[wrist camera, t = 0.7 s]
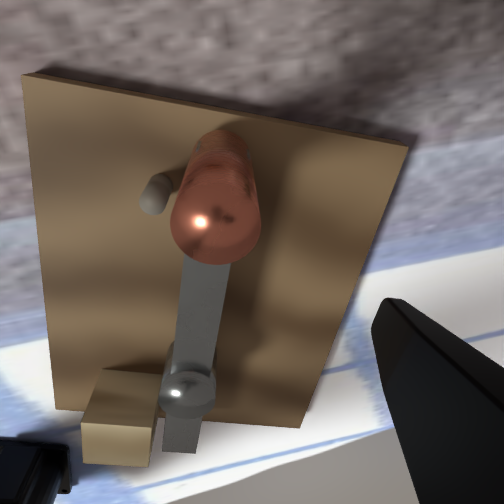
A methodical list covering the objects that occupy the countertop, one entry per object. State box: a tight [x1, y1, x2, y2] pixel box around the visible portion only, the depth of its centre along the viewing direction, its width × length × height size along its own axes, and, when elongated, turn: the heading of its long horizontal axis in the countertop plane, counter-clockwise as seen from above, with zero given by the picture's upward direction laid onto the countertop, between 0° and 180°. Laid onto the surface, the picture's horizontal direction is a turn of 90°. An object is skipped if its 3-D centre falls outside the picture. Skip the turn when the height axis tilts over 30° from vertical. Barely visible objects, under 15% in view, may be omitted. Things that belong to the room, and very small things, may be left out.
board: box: [21, 72, 409, 428], centre depth 22 cm, size 22×18×4 cm
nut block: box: [81, 369, 162, 467], centre depth 25 cm, size 4×4×4 cm
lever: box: [158, 130, 261, 454], centre depth 19 cm, size 20×3×8 cm, turn 169°
